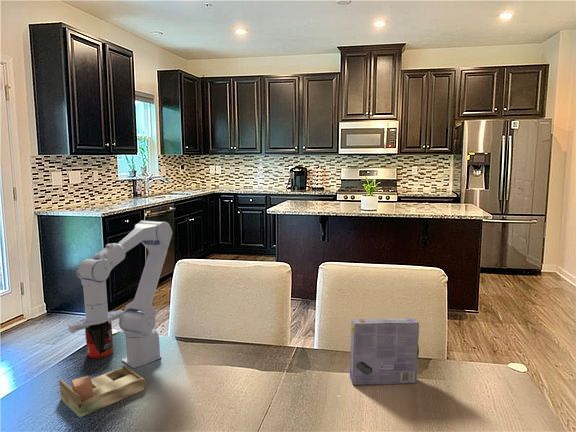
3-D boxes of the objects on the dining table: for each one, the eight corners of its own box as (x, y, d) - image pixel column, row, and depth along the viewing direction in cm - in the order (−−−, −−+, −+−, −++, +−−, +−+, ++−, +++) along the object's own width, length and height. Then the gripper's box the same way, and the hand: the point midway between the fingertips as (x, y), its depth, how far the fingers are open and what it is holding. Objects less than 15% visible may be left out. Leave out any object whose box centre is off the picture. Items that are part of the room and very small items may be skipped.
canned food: (104, 359, 137) (101, 326, 135) (81, 357, 138) (79, 324, 137) (118, 349, 144) (116, 317, 143) (96, 347, 146) (94, 315, 144)
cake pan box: (414, 375, 126) (416, 316, 123) (421, 384, 121) (423, 322, 118) (348, 377, 125) (349, 318, 122) (352, 386, 120) (353, 324, 117)
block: (89, 389, 115) (88, 375, 114) (93, 396, 111) (92, 381, 111) (72, 394, 112) (71, 380, 112) (76, 401, 109) (74, 386, 109)
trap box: (124, 374, 127) (123, 356, 127) (145, 389, 119) (144, 370, 119) (60, 399, 115) (59, 379, 114) (79, 417, 107) (77, 396, 106)
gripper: (114, 292, 128) (117, 337, 129) (62, 305, 117) (66, 353, 119) (126, 297, 123) (129, 343, 125) (73, 312, 112) (77, 361, 114)
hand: (99, 349), depth 122 cm, fingers closed
